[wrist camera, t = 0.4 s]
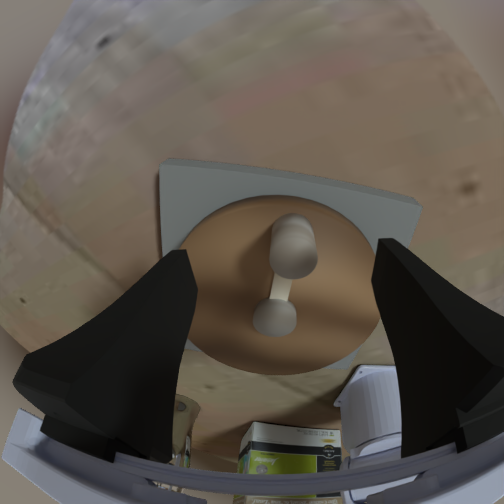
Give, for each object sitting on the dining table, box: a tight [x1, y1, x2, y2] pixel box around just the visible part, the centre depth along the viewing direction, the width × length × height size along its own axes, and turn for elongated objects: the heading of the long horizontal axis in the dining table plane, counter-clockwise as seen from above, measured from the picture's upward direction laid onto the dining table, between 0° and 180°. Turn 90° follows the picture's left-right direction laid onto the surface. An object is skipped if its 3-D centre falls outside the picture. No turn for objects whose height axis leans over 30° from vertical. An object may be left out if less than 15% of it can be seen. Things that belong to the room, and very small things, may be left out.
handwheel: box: [179, 195, 381, 375], centre depth 19 cm, size 16×16×5 cm
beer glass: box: [152, 394, 200, 493], centre depth 31 cm, size 7×7×15 cm
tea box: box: [233, 422, 343, 504], centre depth 34 cm, size 15×10×15 cm, turn 76°
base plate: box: [159, 158, 423, 369], centre depth 22 cm, size 18×18×2 cm
